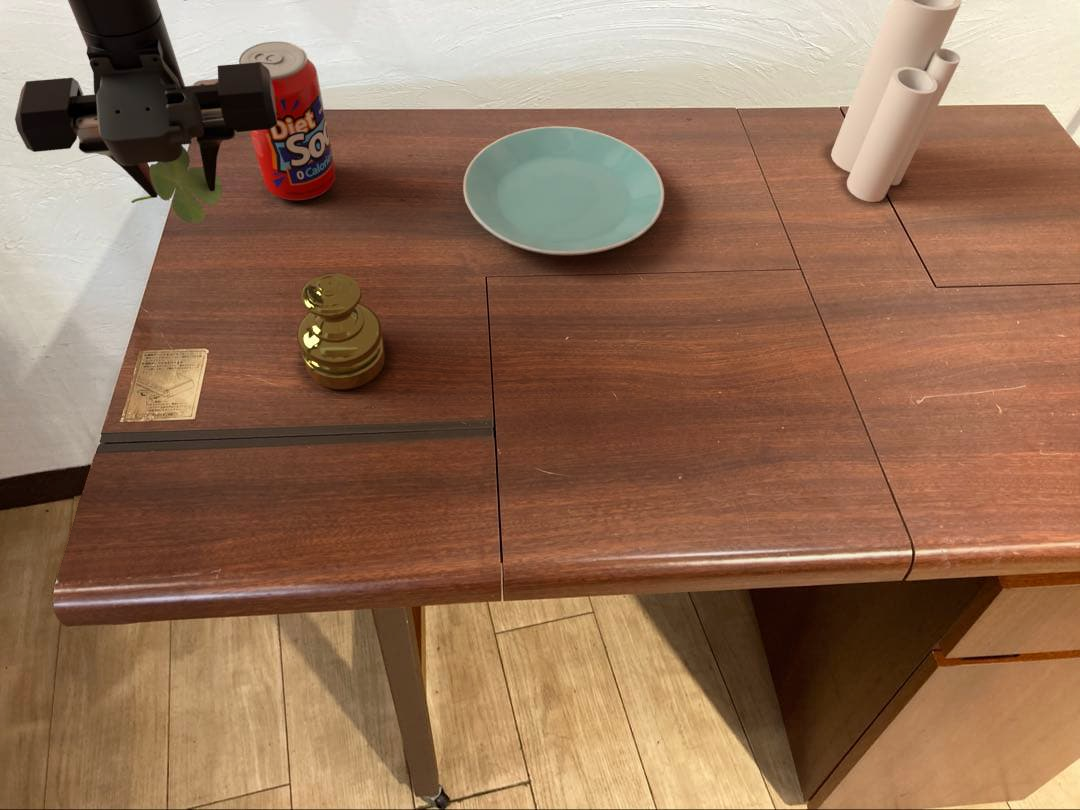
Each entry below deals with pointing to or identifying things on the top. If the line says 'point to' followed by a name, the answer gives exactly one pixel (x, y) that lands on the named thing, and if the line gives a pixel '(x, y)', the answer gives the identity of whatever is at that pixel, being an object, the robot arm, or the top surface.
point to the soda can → (293, 125)
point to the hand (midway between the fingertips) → (183, 191)
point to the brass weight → (339, 333)
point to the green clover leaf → (183, 187)
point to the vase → (896, 95)
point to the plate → (563, 191)
